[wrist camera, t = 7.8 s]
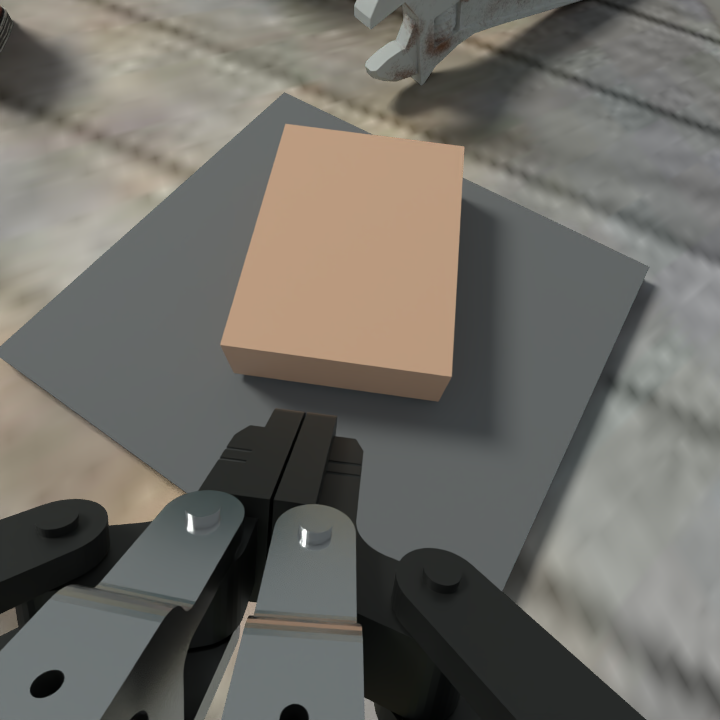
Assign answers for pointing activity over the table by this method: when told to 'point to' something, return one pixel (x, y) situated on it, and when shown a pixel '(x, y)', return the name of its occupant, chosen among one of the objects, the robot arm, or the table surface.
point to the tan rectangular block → (352, 266)
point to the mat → (352, 407)
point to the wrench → (436, 30)
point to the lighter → (4, 26)
